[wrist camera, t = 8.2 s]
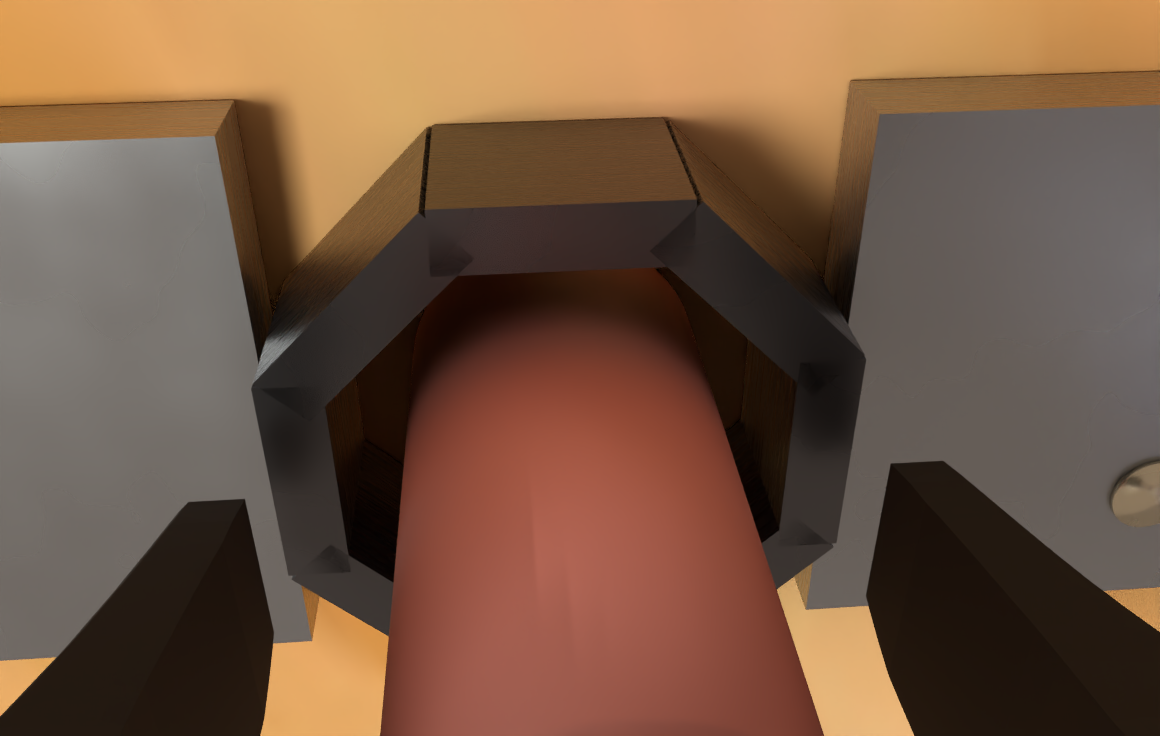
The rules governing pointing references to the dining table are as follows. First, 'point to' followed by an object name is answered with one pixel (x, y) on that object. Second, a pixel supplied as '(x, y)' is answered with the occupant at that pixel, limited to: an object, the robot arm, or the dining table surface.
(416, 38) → the dining table surface
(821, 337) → the hinge
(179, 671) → the robot arm
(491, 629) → the hinge pin
